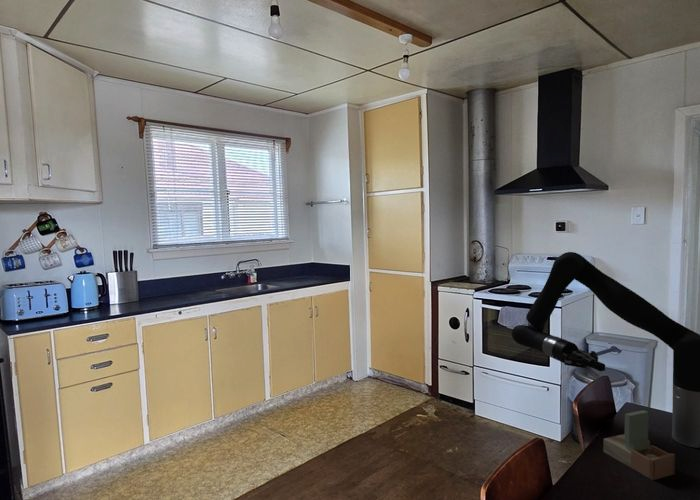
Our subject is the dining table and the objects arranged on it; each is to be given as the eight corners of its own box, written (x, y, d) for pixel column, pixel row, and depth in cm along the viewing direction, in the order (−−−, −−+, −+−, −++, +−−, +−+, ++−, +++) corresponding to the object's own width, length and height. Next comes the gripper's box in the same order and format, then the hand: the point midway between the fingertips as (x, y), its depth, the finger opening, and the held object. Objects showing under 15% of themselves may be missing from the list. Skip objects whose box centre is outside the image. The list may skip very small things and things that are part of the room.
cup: (652, 462, 123) (652, 443, 123) (674, 474, 117) (675, 454, 117) (630, 467, 121) (631, 448, 121) (652, 480, 115) (652, 460, 115)
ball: (667, 466, 117) (657, 470, 120) (658, 450, 119) (648, 454, 122) (656, 469, 116) (646, 473, 119) (647, 453, 118) (637, 457, 121)
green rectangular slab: (643, 443, 125) (643, 409, 125) (651, 447, 123) (651, 413, 122) (624, 448, 123) (624, 413, 123) (632, 452, 121) (632, 417, 120)
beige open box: (624, 446, 132) (624, 434, 132) (652, 462, 123) (652, 448, 123) (603, 451, 130) (603, 438, 129) (630, 467, 121) (631, 453, 121)
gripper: (544, 341, 148) (587, 360, 131) (574, 335, 152) (619, 352, 135) (544, 362, 149) (586, 383, 132) (574, 356, 153) (618, 375, 137)
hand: (603, 368), depth 134 cm, fingers closed
